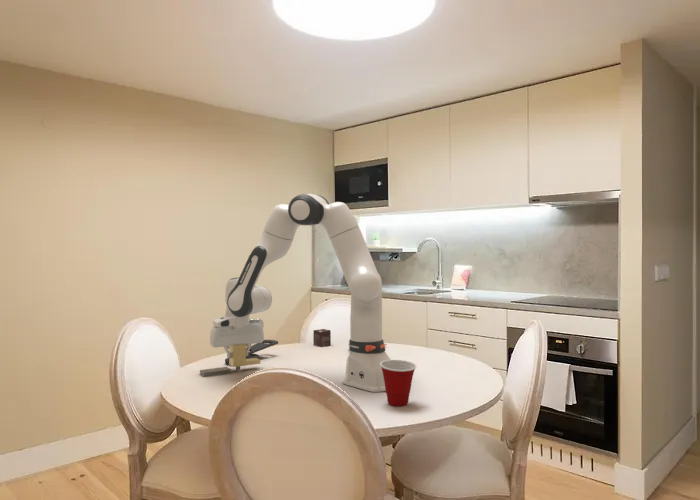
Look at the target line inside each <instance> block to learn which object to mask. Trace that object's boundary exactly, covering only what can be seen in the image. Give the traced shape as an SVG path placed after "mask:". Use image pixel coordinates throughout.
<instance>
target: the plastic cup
mask: <svg viewBox="0 0 700 500" xmlns="http://www.w3.org/2000/svg"><path fill="white" fill-rule="evenodd" d="M380 366H381V367H382V371H383V376H384V383H385V389H386V391H385V393H386V399H387V404H388V406H389V405H390V406H393V407H405V406H407V405H408V403H409V398H410V394H411V388H412V383H413V376H414V373H415V370H416V369H417V367H418V366H417V364H415V363H414V362H412V361H407V360H403V359H402V360H401V359H391V360H386V361H382V362H381V363H380Z"/></svg>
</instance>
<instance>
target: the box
mask: <svg viewBox="0 0 700 500" xmlns="http://www.w3.org/2000/svg"><path fill="white" fill-rule="evenodd" d="M312 334H313V335H312V336H313V339H312V340H313V344H312V345H313V346H314V347H318V348H322V347H328V346H331V345H332V344H331V338H332V337H331V334H332V333H331V329H327V328H326V329H325V328H320V329H313V333H312Z"/></svg>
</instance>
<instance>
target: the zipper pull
mask: <svg viewBox="0 0 700 500" xmlns="http://www.w3.org/2000/svg"><path fill="white" fill-rule="evenodd" d="M278 344H279V341H278V340H275V339H264V341H263V342H262V343H254V344H253V345H251V348H250V350H249V351H248V356H246V359H252V358H258V359H260V354H257V352H260V351H263V350H265V349H268V348H271V347H273V346H275V345H278ZM260 360H261V359H260ZM225 364H226V365H225ZM224 365H225V366H228V365H229V358H227V357H226V358H225V360H224ZM229 367H232V366H231V365H229Z"/></svg>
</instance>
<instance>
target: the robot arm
mask: <svg viewBox="0 0 700 500" xmlns="http://www.w3.org/2000/svg"><path fill="white" fill-rule="evenodd" d="M316 225H321V226H323V228H324V229H325V231H326V234H327V236H328V238H329V240H330V243H331V245H332V247H333V250H334V253H335V256H336V257H337V259H338V262H339V266H340V268H341V271H342V274H343V276H344V279H345V282H346V284H347V286H348V289H349V292H350V316H349V317H350V318H349V321H350V331H349V332H350V338H349V340H348V347H349V348H348V349H349V350H350V352H349V355H348V357H347V358H346V367H345V377H344V379H342V384H343V385H347V386H350V387H354V388H357V389H361V390H365V391H368V392H372V393H376V392H377V393H378V392H379V393H380V392H386V389H385V383H384V376H383V371H382V367H381V366H380V363H381V362H382V361H386V360H392V359H391V357H390V356H389V355H388V354H387V353H386V349H387V344H386V343H385V342H384V338H383V282H382V277H381V274H380V273H379V272H378V270H377V268H376V265H375V262H374V259H373V258H372V254H371V253H370V250H369V247H368V245H367V242H366V241H365V238H364V236H363V233H362V230H361V228H360V227H359V224H358V221H357V220H356V218H355V215H354V214H353V212H352V211H351V209H350V208H349V206H348V205H347V204H346V203H345V202H343V201H342V202H341V201H335V202H331V203H329V201H328V200H327V199H326V198H325V197H324V196H322V195H318V194H314V193H301V194H298V195H296V196H294V197H293V198H292V199H291V200H290V201H289V203H288V204H286V203H280V204H277V205H275V206H274V207H273V209H272V210H271V212H270V214H269V216H268V217H267V220H266V223H265V225H264V228H263V231H262V233H261V236H260V238H259V240H258V241H257V244H256V245H255V247H254V248H253V249H252V251H251V253H250V254H249V255H248V258H247V260H246V262H245V264H244V267H243V269H242V270H241V273H240V275H239V277H232V278H230V279H228V280H227V282H226V285H225V298H224V299H225V304H226V309H225V315H222V316H221V317H218V318H216V319H212V325H213V327H211V330H210V335H209V344H210V346H211V347H212V348H221V347H223V349H224V352H226V358H232V353H231V352H229V346H233V345H240V344H246V356H248V351H249V350H250V348H251V346H252V344H253V345H255V344H257V343H262V342H263V341H264V340H265V333H264V325H265V324H264V321H263V320H262V319H260V318H250V315H253V314H257V313H258V314H259V313H262V312H265V311H267V310H269V308H271V305H272V302H273V298H272V294H271V291H270V290H269V289H268V288H267V287H265V286H261V285H258V284H257V282H258V281H259V278H260V276H261V273H262V272H263V270H265V268H267V266H268V265H270V264H272V263H274V262H276V261H278V260H280V259H282V258H283V257H285V256H286V255H287V253H288V252H289V250H290V248H291V246H292V244H293V241H294V238H295V235H296V232H297V230H298V228H299V227H300V226H316ZM249 352H250V351H249Z"/></svg>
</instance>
